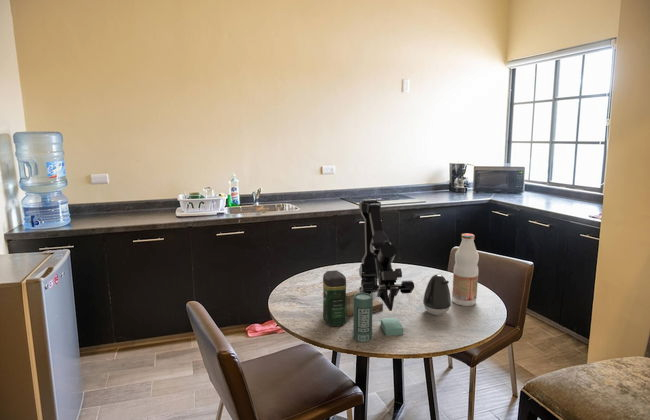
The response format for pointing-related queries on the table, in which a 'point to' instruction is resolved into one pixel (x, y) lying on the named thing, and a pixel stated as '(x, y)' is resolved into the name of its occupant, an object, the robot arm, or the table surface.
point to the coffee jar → (334, 298)
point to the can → (362, 317)
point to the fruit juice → (465, 272)
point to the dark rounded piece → (437, 295)
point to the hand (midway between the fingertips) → (390, 310)
